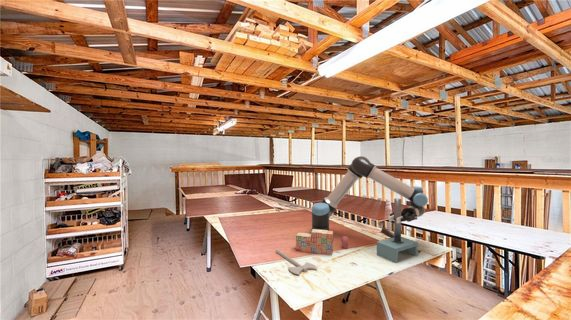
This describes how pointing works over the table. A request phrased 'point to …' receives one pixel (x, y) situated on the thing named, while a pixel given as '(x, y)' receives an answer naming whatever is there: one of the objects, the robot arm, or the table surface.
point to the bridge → (396, 248)
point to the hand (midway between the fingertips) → (393, 220)
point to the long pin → (396, 215)
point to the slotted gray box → (390, 234)
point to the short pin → (344, 242)
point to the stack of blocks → (315, 242)
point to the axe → (297, 264)
